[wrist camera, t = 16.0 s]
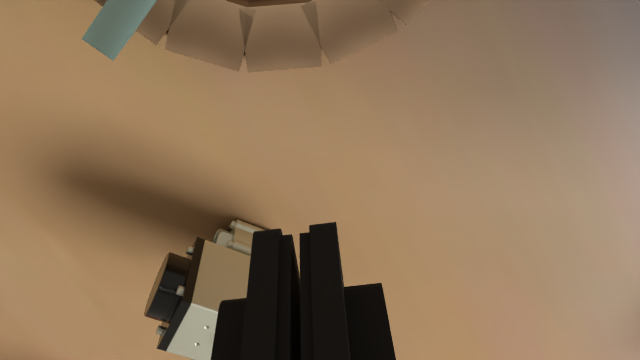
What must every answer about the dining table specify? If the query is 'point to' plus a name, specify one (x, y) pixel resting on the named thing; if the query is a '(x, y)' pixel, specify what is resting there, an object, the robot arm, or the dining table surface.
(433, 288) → the dining table surface
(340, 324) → the robot arm
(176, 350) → the pneumatic valve
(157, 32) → the ring
